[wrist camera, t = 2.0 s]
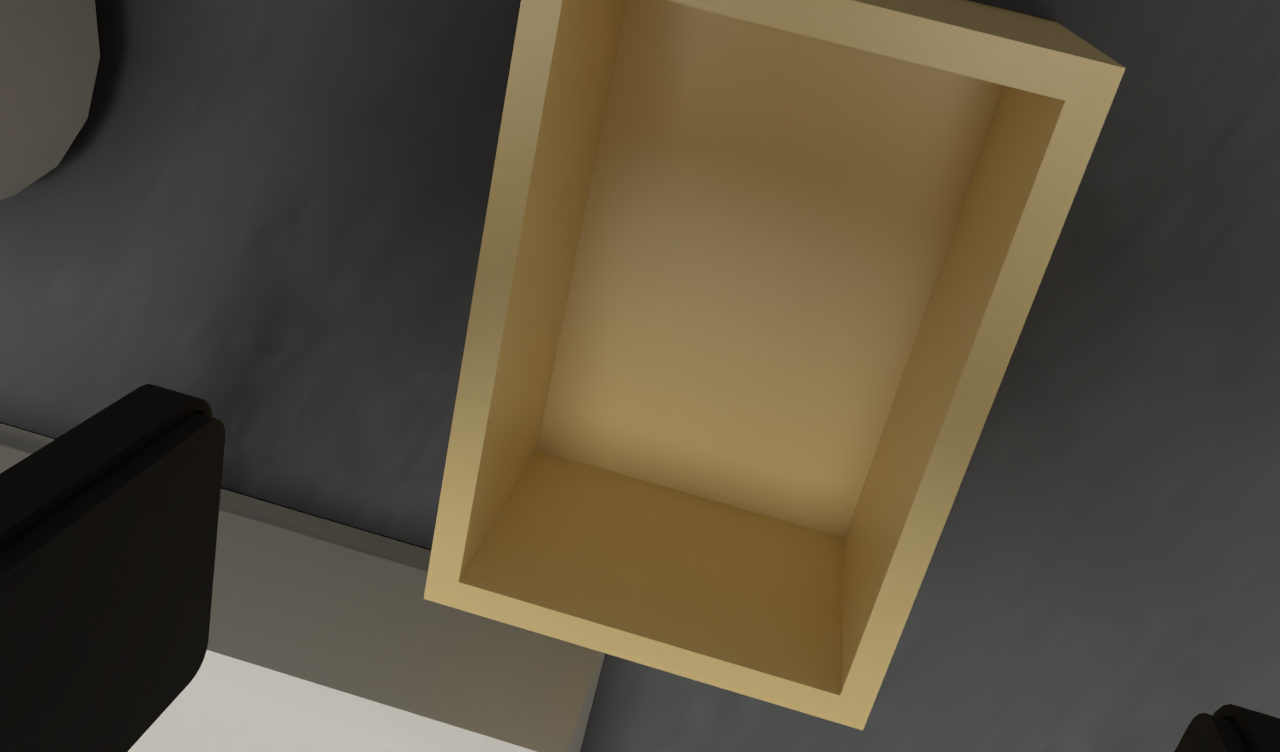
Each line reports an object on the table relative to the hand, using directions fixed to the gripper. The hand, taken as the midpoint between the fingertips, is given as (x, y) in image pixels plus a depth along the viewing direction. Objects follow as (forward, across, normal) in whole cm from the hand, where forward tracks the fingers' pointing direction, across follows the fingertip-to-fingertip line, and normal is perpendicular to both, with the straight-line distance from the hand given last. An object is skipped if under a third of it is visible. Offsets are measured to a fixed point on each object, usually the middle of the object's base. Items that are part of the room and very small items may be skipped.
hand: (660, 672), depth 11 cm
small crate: (+10, 0, -1) cm, 10 cm away
